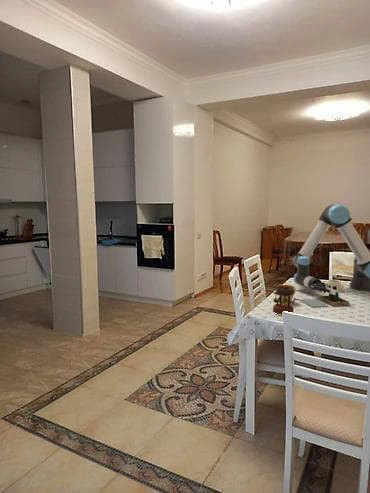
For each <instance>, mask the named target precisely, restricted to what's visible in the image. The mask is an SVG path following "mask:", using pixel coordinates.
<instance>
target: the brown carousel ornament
mask: <svg viewBox="0 0 370 493" xmlns="http://www.w3.org/2000/svg"><path fill="white" fill-rule="evenodd" d="M284 285H287V286H288V287H292V288H293V289H294V294H293V295H292V296H290V301H293V300H294V296H295V294H296V290H297V288H296V286H295V285H291V284H285V283H284V284H280V286H284ZM278 286H279V284H278V285H277V287H278ZM278 297H279V298H280V295H278ZM286 298H287V300H288V296H287V297H286ZM282 299H284V296H282ZM281 301H282V303H281V304H288V301H287V302H285V303H283V300H281ZM291 304H293V303H292V302H291V303H290V305H291Z"/></svg>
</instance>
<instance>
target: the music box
mask: <svg viewBox="0 0 370 493" xmlns="http://www.w3.org/2000/svg"><path fill="white" fill-rule="evenodd" d="M273 281H275V285H277V283H278V285H279V286H278V285H277V286H276V288H275V291H274V292H273V294H274V295H275V297H274V299H273V303H275V304H274V305H273V308H272V312H275V313H277V314H281V315H282V312H283V311H288V312H293V313H294V307H293V305H291V304H294V303H295V301H300V300H301V299H299V298H295V297H293V299H292V301H290V296H292V295H293V294H294V295H295V293H294V289H293V288H292V287H288V286H287V285H288V284H287V277H285V276H284V277H278V278H276V279H273ZM282 283H284V284H285V285H284V286H280V285H281V284H282ZM279 295H280V298H279ZM277 296H278V297H277ZM282 296H284V299H282ZM287 296H288V300H287V298H286V297H287ZM281 300H283V303H285V302H287V301H288V304H283V303H282V301H281ZM291 302H292V303H291ZM290 303H291V304H290ZM275 313H274V314H275ZM277 314H276V315H277ZM281 315H280V316H281Z"/></svg>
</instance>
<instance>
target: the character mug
mask: <svg viewBox="0 0 370 493" xmlns="http://www.w3.org/2000/svg"><path fill="white" fill-rule="evenodd" d="M324 283H325V288H330V289H333V290H336V295H333V294H330V293H328V295H329V296H328V295H327V296H328V299H327V300H329V301H331V302H339V298H340V297H339V296H340V295H339V293H341V292H340V291H343V288H344V286H345V285H342V281H341V280H339V279H328V280H327V282H324ZM327 284H328V286H327ZM341 288H342V289H341ZM344 289H345V288H344Z"/></svg>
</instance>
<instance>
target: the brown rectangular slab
mask: <svg viewBox="0 0 370 493" xmlns="http://www.w3.org/2000/svg"><path fill="white" fill-rule="evenodd" d="M328 296H329V294H328V295H318V296H317V297H318V301H320V302H322V303H324V304H326V305H328V306H331V307H347V306H350V301H348V300H346V299H344V298H341V297H339V302H332V301H329V300H328Z"/></svg>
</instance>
